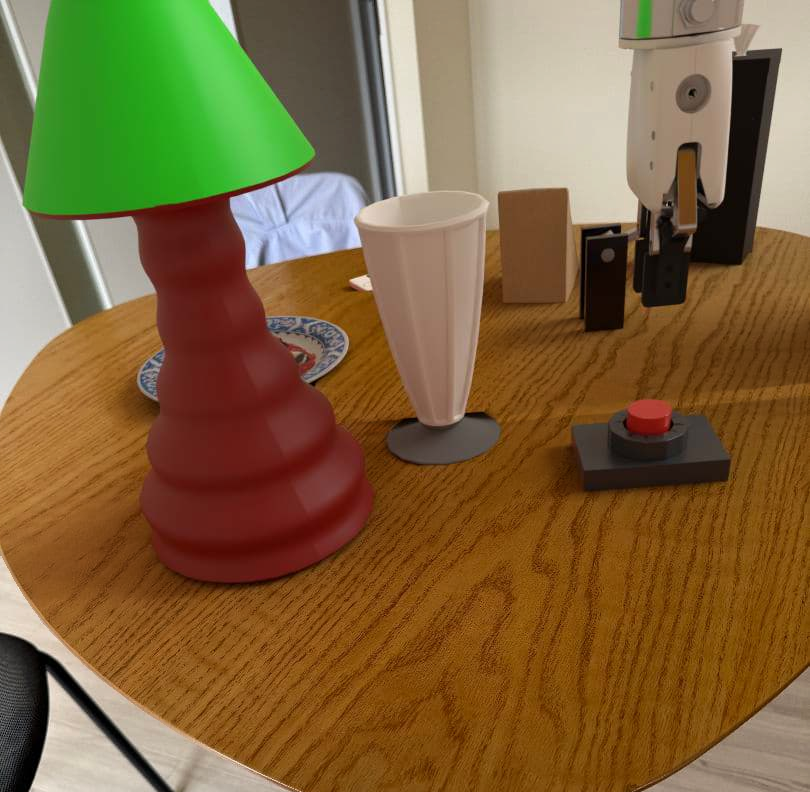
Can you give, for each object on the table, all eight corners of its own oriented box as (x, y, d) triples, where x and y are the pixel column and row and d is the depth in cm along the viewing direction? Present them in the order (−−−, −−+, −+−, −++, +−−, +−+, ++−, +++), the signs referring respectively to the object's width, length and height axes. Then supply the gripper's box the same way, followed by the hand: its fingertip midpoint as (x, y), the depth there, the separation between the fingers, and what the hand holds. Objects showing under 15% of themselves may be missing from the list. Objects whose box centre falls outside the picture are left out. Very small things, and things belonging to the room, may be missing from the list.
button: (664, 415, 69) (666, 397, 68) (674, 435, 66) (676, 416, 65) (622, 418, 69) (623, 400, 68) (630, 438, 66) (631, 420, 65)
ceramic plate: (323, 317, 109) (320, 296, 107) (377, 387, 88) (373, 362, 87) (137, 360, 104) (130, 338, 102) (148, 444, 83) (140, 420, 82)
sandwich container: (582, 271, 111) (584, 157, 102) (568, 312, 100) (569, 187, 91) (522, 273, 114) (519, 161, 105) (501, 312, 102) (496, 190, 93)
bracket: (644, 315, 96) (651, 215, 89) (659, 341, 90) (667, 235, 83) (546, 325, 97) (545, 227, 90) (553, 350, 91) (553, 247, 84)
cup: (412, 478, 72) (380, 237, 59) (369, 428, 81) (334, 209, 68) (522, 443, 75) (515, 206, 62) (470, 398, 83) (454, 182, 71)
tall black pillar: (740, 275, 103) (775, 23, 87) (679, 271, 107) (701, 29, 90) (752, 256, 109) (787, 15, 92) (693, 253, 112) (717, 21, 96)
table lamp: (210, 624, 59) (-77, -182, 32) (121, 517, 72) (-131, -110, 46) (419, 515, 67) (329, -196, 40) (304, 438, 81) (180, -131, 54)
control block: (702, 435, 72) (707, 395, 70) (727, 481, 66) (734, 440, 63) (570, 445, 73) (571, 407, 71) (583, 492, 67) (584, 452, 65)
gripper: (786, 13, 43) (740, 332, 54) (706, 0, 56) (681, 260, 67) (647, 31, 44) (629, 342, 55) (599, 15, 57) (592, 269, 68)
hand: (658, 295), depth 61 cm, fingers closed
